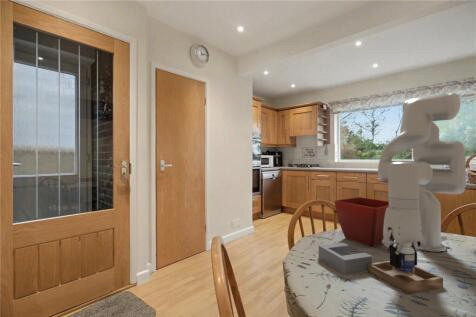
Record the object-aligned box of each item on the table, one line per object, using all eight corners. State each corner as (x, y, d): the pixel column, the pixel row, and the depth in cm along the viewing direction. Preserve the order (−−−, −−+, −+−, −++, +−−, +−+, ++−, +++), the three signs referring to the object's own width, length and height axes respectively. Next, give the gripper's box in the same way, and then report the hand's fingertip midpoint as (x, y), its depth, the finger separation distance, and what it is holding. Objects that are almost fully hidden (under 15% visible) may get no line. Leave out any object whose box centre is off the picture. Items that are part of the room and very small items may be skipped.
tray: (399, 266, 79) (399, 259, 79) (443, 286, 67) (443, 277, 67) (367, 272, 75) (367, 264, 75) (407, 294, 63) (407, 284, 63)
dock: (342, 254, 89) (343, 242, 89) (372, 270, 76) (372, 256, 76) (318, 258, 86) (318, 245, 86) (344, 274, 73) (344, 260, 73)
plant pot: (375, 251, 92) (375, 207, 92) (333, 237, 108) (333, 200, 108) (401, 243, 102) (401, 203, 102) (358, 231, 118) (358, 196, 118)
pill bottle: (388, 268, 74) (388, 236, 74) (404, 267, 74) (404, 236, 74) (401, 277, 68) (401, 242, 68) (419, 276, 69) (419, 242, 69)
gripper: (412, 200, 77) (412, 256, 77) (369, 203, 72) (369, 263, 72) (437, 204, 70) (437, 266, 70) (392, 207, 65) (392, 275, 65)
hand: (403, 264), depth 71 cm, fingers closed on pill bottle, 5 cm apart
